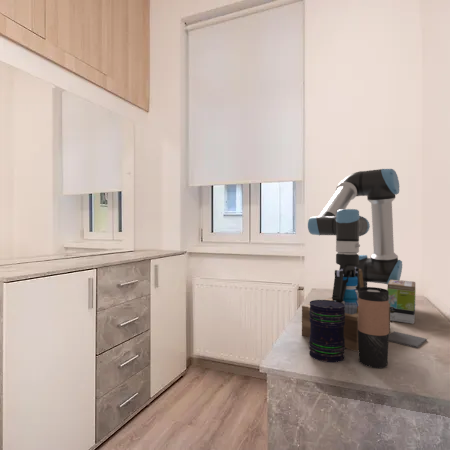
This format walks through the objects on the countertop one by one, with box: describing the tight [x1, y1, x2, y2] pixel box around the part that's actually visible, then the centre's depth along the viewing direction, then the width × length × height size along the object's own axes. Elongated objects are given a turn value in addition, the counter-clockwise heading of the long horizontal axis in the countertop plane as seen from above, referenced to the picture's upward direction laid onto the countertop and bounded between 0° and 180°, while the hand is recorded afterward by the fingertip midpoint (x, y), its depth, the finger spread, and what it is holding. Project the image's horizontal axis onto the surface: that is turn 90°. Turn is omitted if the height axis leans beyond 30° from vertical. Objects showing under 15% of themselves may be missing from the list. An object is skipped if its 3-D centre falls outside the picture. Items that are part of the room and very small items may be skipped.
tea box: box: [386, 280, 416, 325], centre depth 131 cm, size 15×10×15 cm, turn 149°
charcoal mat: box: [388, 330, 428, 349], centre depth 104 cm, size 10×10×1 cm
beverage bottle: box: [343, 276, 359, 315], centre depth 111 cm, size 8×8×20 cm
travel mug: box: [358, 286, 390, 369], centre depth 87 cm, size 8×8×20 cm
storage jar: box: [308, 299, 346, 364], centre depth 91 cm, size 10×10×15 cm
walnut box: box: [301, 297, 391, 352], centre depth 110 cm, size 27×19×10 cm
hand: (346, 317), depth 110 cm, fingers open, 9 cm apart
